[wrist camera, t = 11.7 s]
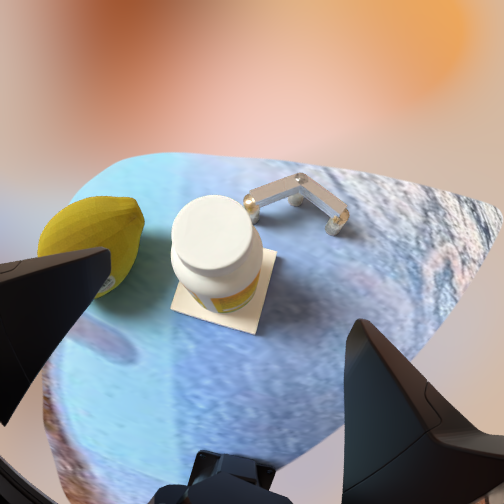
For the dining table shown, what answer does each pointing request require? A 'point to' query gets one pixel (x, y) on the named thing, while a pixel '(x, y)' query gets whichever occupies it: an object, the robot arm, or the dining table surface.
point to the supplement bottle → (217, 253)
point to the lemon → (97, 233)
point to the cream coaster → (236, 320)
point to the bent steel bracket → (298, 199)
